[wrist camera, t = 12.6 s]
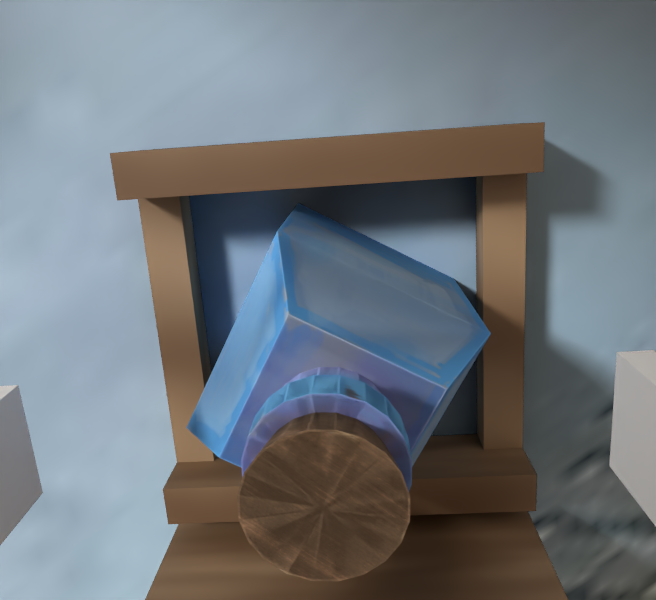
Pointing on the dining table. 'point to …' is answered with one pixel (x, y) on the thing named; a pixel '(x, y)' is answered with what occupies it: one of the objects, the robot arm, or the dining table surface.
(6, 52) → the dining table surface
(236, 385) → the perfume bottle
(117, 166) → the wooden l-shaped stand
